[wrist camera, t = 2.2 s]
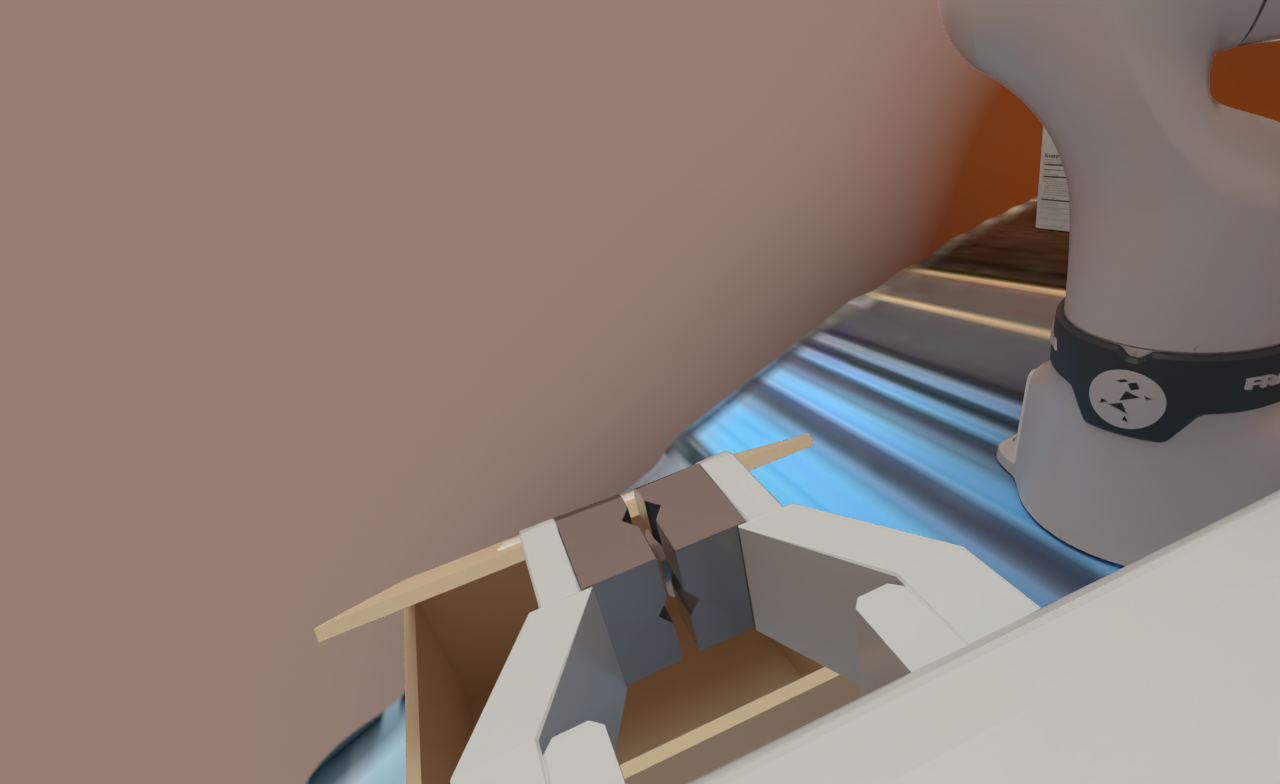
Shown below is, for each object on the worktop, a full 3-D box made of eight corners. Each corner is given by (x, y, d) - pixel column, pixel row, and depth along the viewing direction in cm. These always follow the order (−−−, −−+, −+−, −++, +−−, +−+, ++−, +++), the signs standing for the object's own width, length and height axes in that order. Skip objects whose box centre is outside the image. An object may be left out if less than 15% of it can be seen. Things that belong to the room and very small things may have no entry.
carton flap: (813, 445, 26) (808, 431, 26) (318, 642, 22) (313, 625, 22) (715, 467, 41) (712, 458, 41) (407, 588, 37) (403, 578, 37)
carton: (889, 789, 32) (884, 653, 27) (495, 1001, 28) (407, 884, 23) (739, 580, 45) (718, 465, 41) (462, 700, 41) (403, 589, 37)
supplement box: (1070, 209, 94) (1082, 100, 87) (1139, 215, 87) (1158, 96, 80) (1032, 228, 91) (1041, 116, 84) (1100, 236, 84) (1116, 114, 77)
